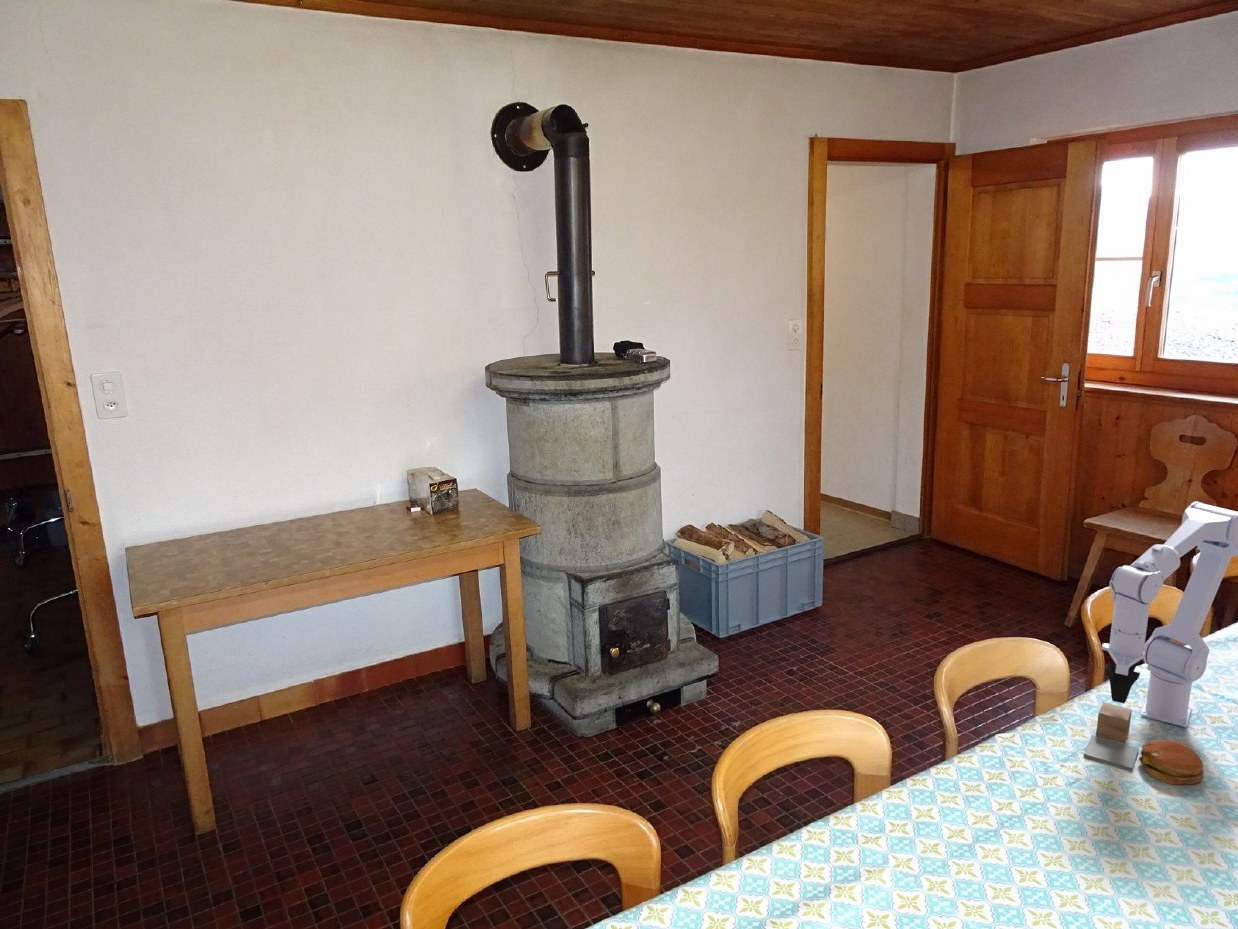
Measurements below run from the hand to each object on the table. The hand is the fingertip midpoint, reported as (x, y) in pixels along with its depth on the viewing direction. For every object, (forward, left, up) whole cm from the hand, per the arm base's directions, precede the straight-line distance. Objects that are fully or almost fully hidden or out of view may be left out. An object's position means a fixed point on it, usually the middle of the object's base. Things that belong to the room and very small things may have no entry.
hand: (1120, 692), depth 168 cm
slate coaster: (+7, 0, -9) cm, 12 cm away
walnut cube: (-1, -1, -10) cm, 10 cm away
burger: (+7, +10, -10) cm, 16 cm away
